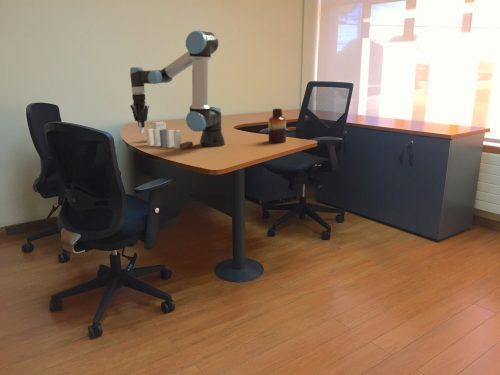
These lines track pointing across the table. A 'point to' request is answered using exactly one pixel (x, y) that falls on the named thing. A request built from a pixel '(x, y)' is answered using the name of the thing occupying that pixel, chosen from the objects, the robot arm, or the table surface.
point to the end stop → (186, 145)
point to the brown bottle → (277, 127)
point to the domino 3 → (163, 137)
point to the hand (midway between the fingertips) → (142, 132)
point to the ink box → (159, 125)
